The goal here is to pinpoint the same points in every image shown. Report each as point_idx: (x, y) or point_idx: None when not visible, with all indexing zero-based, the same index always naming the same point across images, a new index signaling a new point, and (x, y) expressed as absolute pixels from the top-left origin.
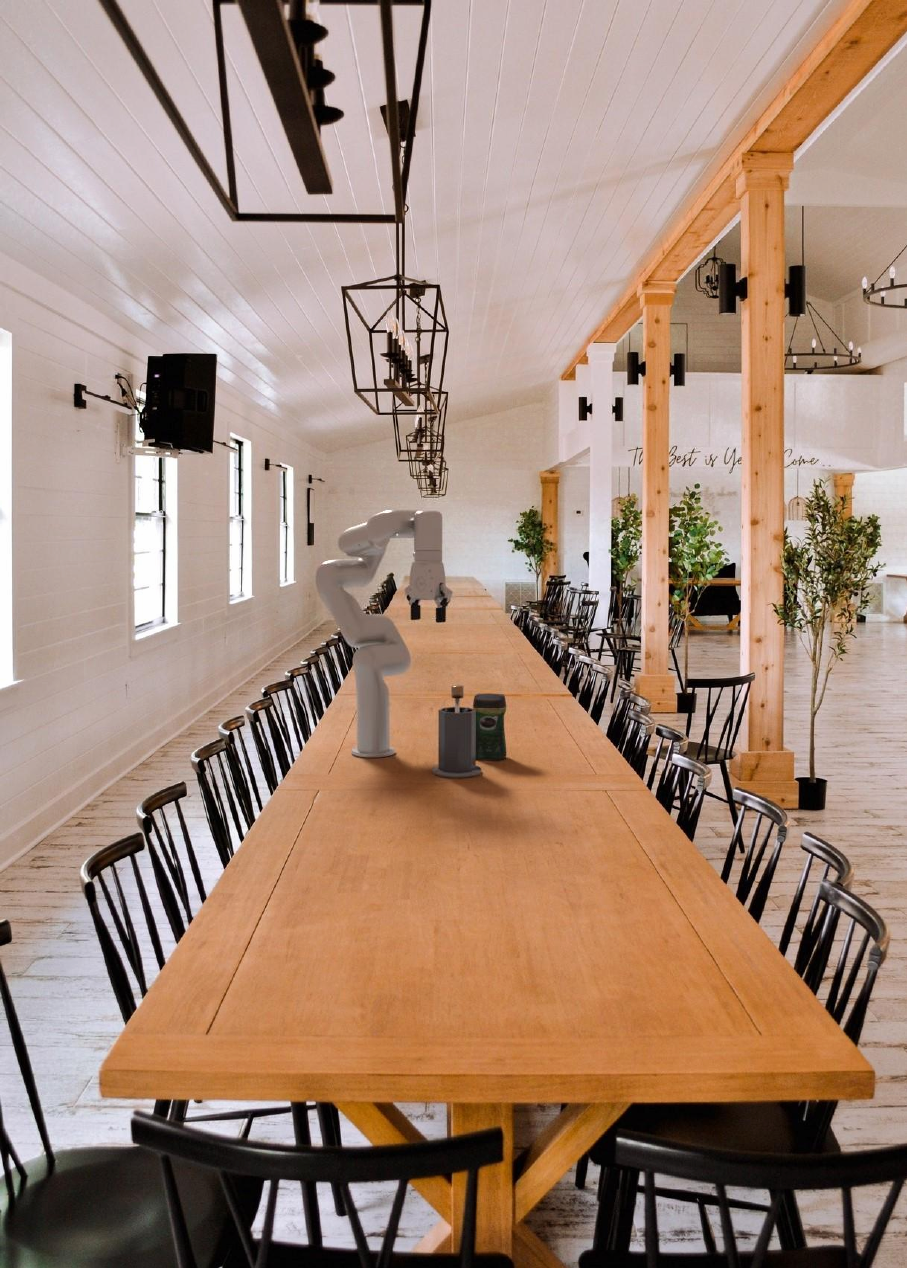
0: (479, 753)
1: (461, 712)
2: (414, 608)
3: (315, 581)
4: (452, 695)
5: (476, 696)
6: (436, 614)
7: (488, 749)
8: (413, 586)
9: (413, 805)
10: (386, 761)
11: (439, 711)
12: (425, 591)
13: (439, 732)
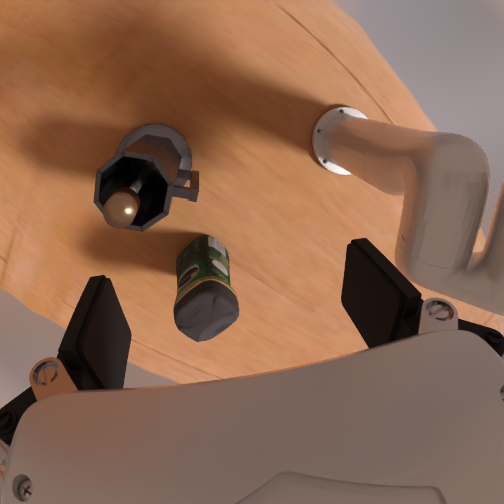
0: (197, 241)
1: (154, 214)
2: (384, 304)
3: None
4: (123, 189)
5: (214, 298)
6: (81, 308)
7: (186, 253)
8: (489, 469)
9: (54, 21)
10: (288, 119)
11: (150, 154)
12: (140, 498)
13: (157, 146)
